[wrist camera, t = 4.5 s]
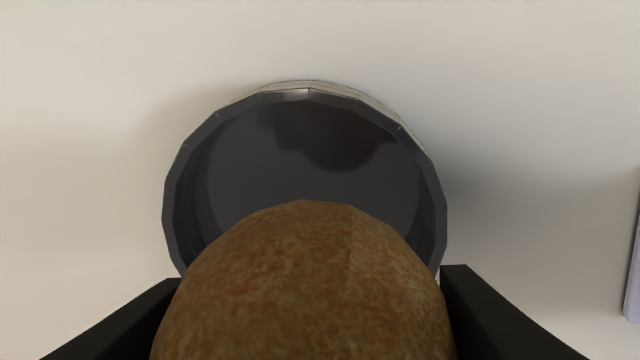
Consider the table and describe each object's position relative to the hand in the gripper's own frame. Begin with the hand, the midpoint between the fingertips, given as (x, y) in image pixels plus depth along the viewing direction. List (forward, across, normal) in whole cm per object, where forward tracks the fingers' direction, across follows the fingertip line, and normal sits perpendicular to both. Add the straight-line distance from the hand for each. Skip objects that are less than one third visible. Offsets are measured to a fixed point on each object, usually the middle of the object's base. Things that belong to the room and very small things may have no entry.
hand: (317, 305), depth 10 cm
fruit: (+3, 0, 0) cm, 3 cm away
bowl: (+10, +1, +1) cm, 10 cm away
